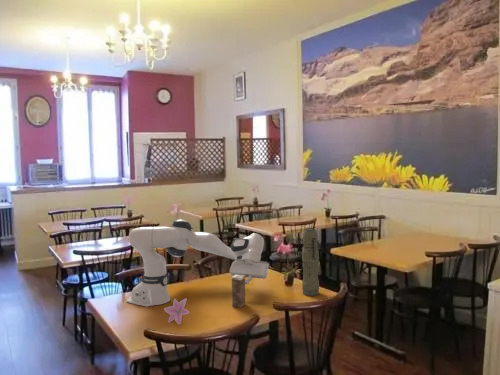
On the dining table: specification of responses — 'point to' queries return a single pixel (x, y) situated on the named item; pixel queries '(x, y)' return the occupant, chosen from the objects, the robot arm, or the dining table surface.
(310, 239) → the thermos
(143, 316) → the dining table surface
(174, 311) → the lily
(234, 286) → the grey rectangular block
